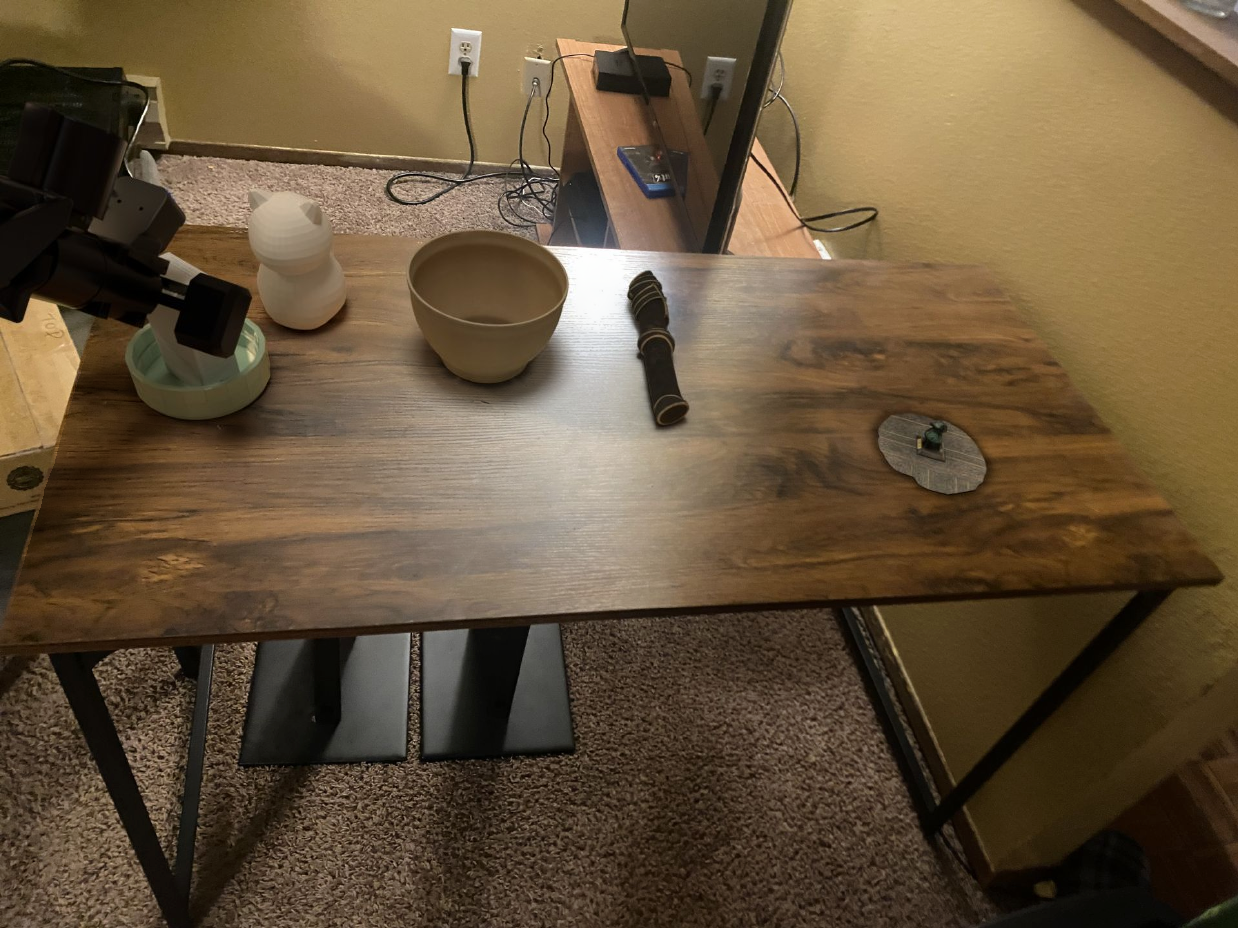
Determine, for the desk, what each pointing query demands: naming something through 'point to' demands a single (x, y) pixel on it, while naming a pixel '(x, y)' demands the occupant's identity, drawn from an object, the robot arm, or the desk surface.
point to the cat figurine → (295, 259)
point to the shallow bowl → (200, 400)
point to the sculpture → (932, 453)
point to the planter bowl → (486, 300)
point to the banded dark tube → (657, 347)
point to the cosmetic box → (177, 357)
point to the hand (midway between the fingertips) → (198, 309)
